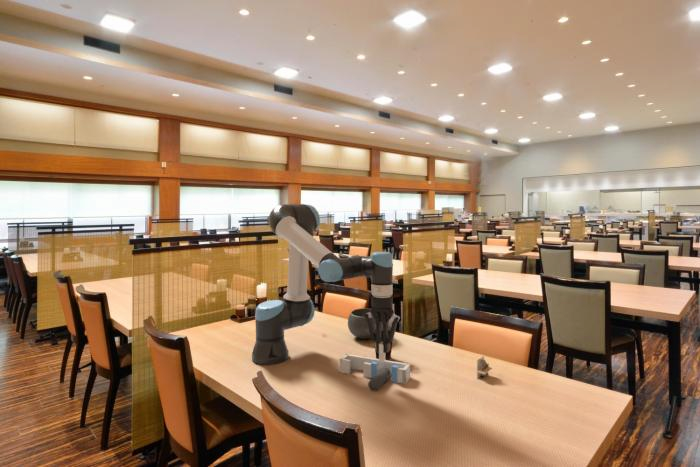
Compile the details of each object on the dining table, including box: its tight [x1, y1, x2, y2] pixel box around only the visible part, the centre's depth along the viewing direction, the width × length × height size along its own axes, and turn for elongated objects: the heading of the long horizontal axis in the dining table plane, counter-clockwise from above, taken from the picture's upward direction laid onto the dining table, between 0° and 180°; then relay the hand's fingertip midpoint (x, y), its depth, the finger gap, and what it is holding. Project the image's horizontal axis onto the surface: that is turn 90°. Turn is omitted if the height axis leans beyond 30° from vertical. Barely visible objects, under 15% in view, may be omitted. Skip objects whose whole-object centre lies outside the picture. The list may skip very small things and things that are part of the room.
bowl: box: [347, 307, 383, 340], centre depth 193 cm, size 18×18×13 cm
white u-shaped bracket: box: [339, 353, 411, 385], centre depth 149 cm, size 26×6×6 cm, turn 66°
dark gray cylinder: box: [367, 367, 391, 392], centre depth 142 cm, size 12×4×4 cm, turn 155°
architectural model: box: [476, 355, 493, 379], centre depth 146 cm, size 3×7×7 cm, turn 138°
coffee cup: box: [373, 326, 393, 361], centre depth 165 cm, size 9×8×13 cm
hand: (382, 360), depth 142 cm, fingers closed
